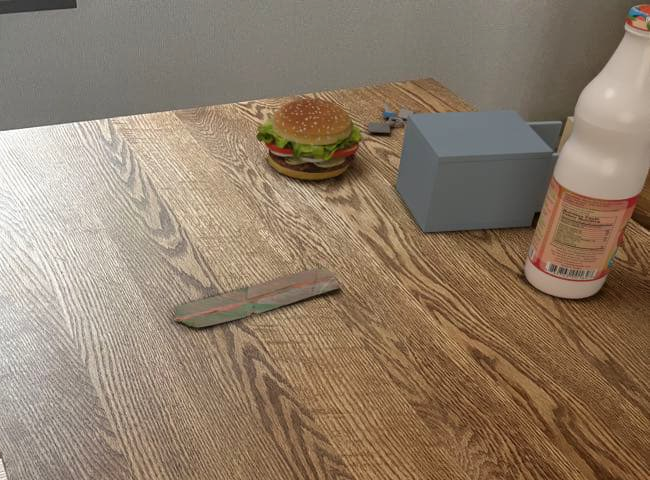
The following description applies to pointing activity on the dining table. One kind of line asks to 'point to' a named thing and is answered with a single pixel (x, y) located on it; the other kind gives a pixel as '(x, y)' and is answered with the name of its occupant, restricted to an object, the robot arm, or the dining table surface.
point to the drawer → (550, 136)
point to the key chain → (386, 125)
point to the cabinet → (471, 170)
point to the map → (256, 298)
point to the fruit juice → (597, 173)
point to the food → (310, 139)
